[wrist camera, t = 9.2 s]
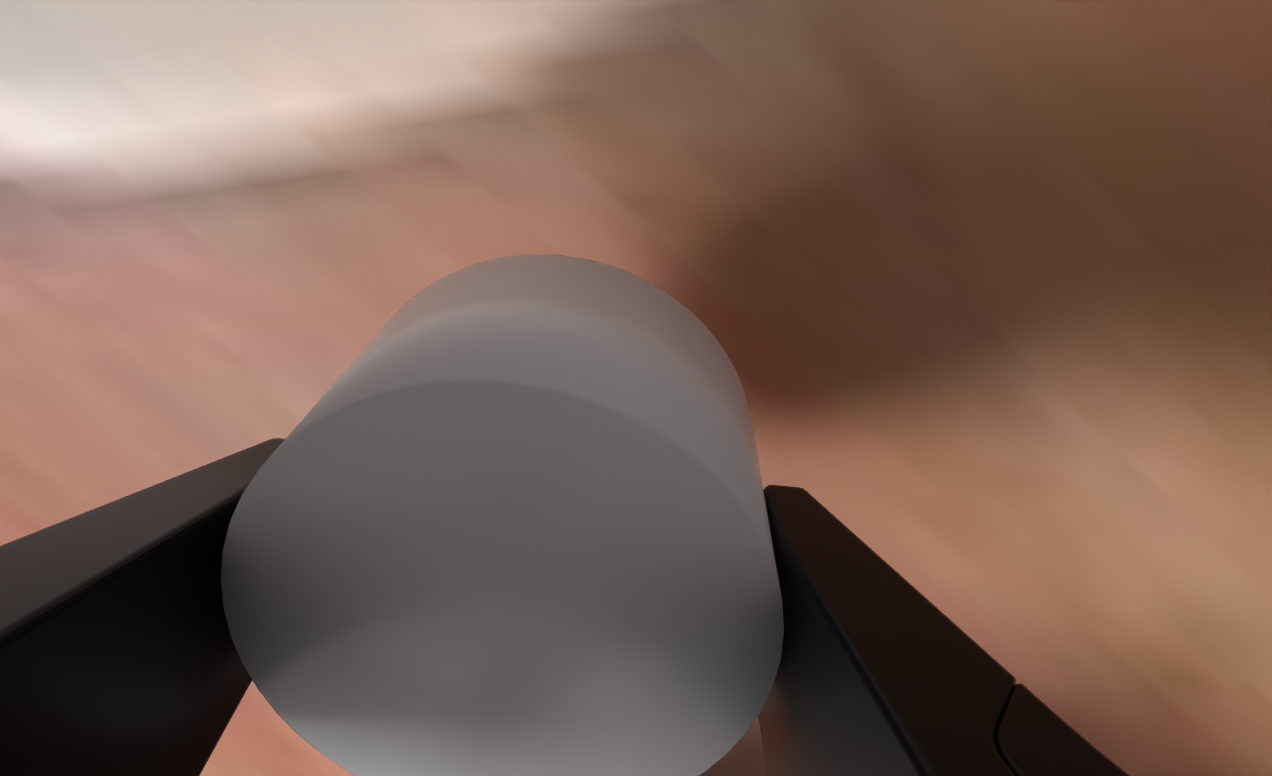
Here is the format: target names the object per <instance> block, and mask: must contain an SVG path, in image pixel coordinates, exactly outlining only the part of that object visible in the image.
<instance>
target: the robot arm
mask: <svg viewBox="0 0 1272 776" xmlns="http://www.w3.org/2000/svg"><path fill="white" fill-rule="evenodd" d="M284 440H285V439H281V438H275V439H270V440H268V441H265V442H263V443H260V444H258V445H255V446H253V447H250V448H247V449H245V450H242V451H240V452H237V453H235V454H232V455H230V456H227V457H225V458H222V459H220V460H217V461H215V462H212V463H210V464H207V465H204V466H202V467H199V468H197V469H194V470H192V471H189V472H187V473H184V474H182V475H179V476H177V477H174V478H172V479H169V480H166V481H164V482H161V483H159V484H156V485H154V486H151V487H149V488H146V489H144V490H141V491H139V492H136V493H134V494H131V495H128V496H126V497H123V498H121V499H118V500H116V501H113V502H111V503H108V504H106V505H103V506H101V507H98V508H96V509H93V510H90V511H88V512H85V513H83V514H80V515H78V516H75V517H73V518H70V519H68V520H65V521H63V522H60V523H58V524H55V525H52V526H50V527H47V528H45V529H42V530H40V531H37V532H35V533H32V534H30V535H27V536H25V537H22V538H20V539H17V540H15V541H12V542H9V543H7V544H4V545H2V546H0V776H199V775H200V774H201V772H202V770H203V768H204V766H205V765H206V763H207V761H208V759H209V757H210V756H211V754H212V752H213V750H214V748H215V746H216V745H217V743H218V741H219V739H220V737H221V736H222V734H223V732H224V730H225V728H226V727H227V725H228V723H229V721H230V719H231V718H232V716H233V714H234V712H235V710H236V708H237V707H238V705H239V703H240V701H241V699H242V698H243V696H244V694H245V692H246V690H247V689H248V687H249V685H250V683H251V681H252V678H251V677H250V675H249V673H248V672H247V670H246V668H245V667H244V665H243V663H242V661H241V659H240V656H239V654H238V652H237V649H236V647H235V645H234V642H233V640H232V638H231V635H230V631H229V627H228V623H227V620H226V616H225V612H224V608H223V598H222V588H221V568H222V553H223V547H224V543H225V539H226V535H227V531H228V527H229V523H230V520H231V518H232V516H233V514H234V511H235V509H236V507H237V505H238V503H239V500H240V498H241V496H242V494H243V492H244V491H245V489H246V488H247V486H248V485H249V484H250V482H251V481H252V479H253V478H254V476H255V475H256V473H257V472H258V470H259V469H260V468H261V466H262V465H263V464H264V463H265V462H266V461H267V460H268V458H269V457H270V456H271V455H272V454H273V453H274V452H275V450H276V449H277V448H278V447H279V446H280V445H281V444H282V442H283V441H284ZM763 491H764V497H765V503H766V509H767V514H768V520H769V526H770V532H771V538H772V544H773V550H774V555H775V561H776V567H777V573H778V579H779V585H780V591H781V597H782V604H783V622H784V635H783V644H782V653H781V660H780V664H779V667H778V670H777V674H776V677H775V681H774V684H773V687H772V689H771V691H770V693H769V695H768V697H767V700H766V702H765V704H764V706H763V708H762V710H761V712H760V713H759V715H758V717H759V723H760V729H761V736H762V742H763V748H764V754H765V760H766V767H767V773H768V776H1130V775H1129V774H1127V773H1126V772H1125V771H1124V770H1122V769H1121V768H1120V767H1118V766H1117V765H1116V764H1115V763H1113V762H1112V761H1111V760H1110V759H1108V758H1107V757H1106V756H1105V755H1103V754H1102V753H1101V752H1100V751H1099V750H1098V749H1096V748H1095V747H1094V746H1093V745H1092V744H1091V743H1089V742H1088V741H1087V740H1086V739H1085V738H1084V737H1082V736H1081V735H1080V734H1079V733H1078V732H1077V731H1075V730H1074V729H1073V728H1072V727H1071V726H1070V725H1068V724H1067V723H1066V722H1065V721H1064V720H1063V719H1061V718H1060V717H1059V716H1058V715H1057V714H1056V713H1054V712H1053V711H1052V710H1051V709H1050V708H1049V707H1048V706H1047V705H1045V704H1044V703H1043V702H1042V701H1041V700H1040V699H1039V698H1038V697H1036V696H1035V695H1034V694H1033V693H1032V692H1031V691H1030V690H1029V689H1028V688H1026V687H1025V686H1024V685H1023V684H1020V683H1019V684H1016V679H1015V677H1014V676H1013V675H1011V674H1010V673H1009V672H1008V671H1007V670H1006V669H1005V668H1004V667H1003V666H1001V665H1000V664H999V663H998V662H997V661H996V660H995V659H994V658H992V657H991V656H990V655H989V654H988V653H987V652H986V651H985V650H984V649H982V648H981V647H980V646H979V645H978V644H977V643H976V642H975V641H973V640H972V639H971V638H970V637H969V636H968V635H967V634H966V633H964V632H963V631H962V630H961V629H960V628H959V627H958V626H957V625H956V624H954V623H953V622H952V621H951V620H950V619H949V618H948V617H947V616H945V615H944V614H943V613H942V612H941V611H940V610H939V609H938V608H937V607H935V606H934V605H933V604H932V603H931V602H930V601H929V600H928V599H926V598H925V597H924V596H923V595H922V594H921V593H920V592H919V591H918V590H916V589H915V588H914V587H913V586H912V585H911V584H910V583H909V582H907V581H906V580H905V579H904V578H903V577H902V576H901V575H900V574H899V573H897V572H896V571H895V570H894V569H893V568H892V567H891V566H890V565H888V564H887V563H886V562H885V561H884V560H883V559H882V558H881V557H879V556H878V555H877V554H876V553H875V552H874V551H873V550H872V549H871V548H869V547H868V546H867V545H866V544H865V543H864V542H863V541H862V540H860V539H859V538H858V537H857V536H856V535H855V534H854V533H853V532H852V531H850V530H849V529H848V528H847V527H846V526H845V525H844V524H843V523H841V522H840V521H839V520H838V519H837V518H836V517H835V516H834V515H833V514H831V513H830V512H829V511H828V510H827V509H826V508H825V507H824V506H822V505H821V504H820V503H819V502H818V501H817V500H816V499H815V498H813V497H812V496H811V495H810V494H809V493H808V492H807V491H805V490H804V489H802V488H799V487H789V486H778V485H768V486H767V487H765V489H764V490H763ZM1015 684H1016V685H1015Z"/></svg>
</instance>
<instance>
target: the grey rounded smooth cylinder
mask: <svg viewBox="0 0 1272 776" xmlns="http://www.w3.org/2000/svg"><path fill="white" fill-rule="evenodd" d="M221 588H222V598H223V608H224V612H225V616H226V620H227V623H228V627H229V631H230V635H231V638H232V640H233V642H234V645H235V647H236V649H237V652H238V654H239V656H240V659H241V661H242V663H243V665H244V667H245V668H246V670H247V672H248V673H249V675H250V677H251V678H252V680H253V682H254V683H255V685H256V687H257V688H258V690H259V691H260V692H261V694H262V695H263V696H264V698H265V699H266V700H267V701H268V703H269V704H270V705H271V707H272V708H273V709H274V710H275V712H276V713H277V714H278V715H279V716H280V717H281V718H282V719H283V720H284V721H285V722H286V723H287V724H288V725H289V726H290V727H291V728H292V729H293V730H294V731H295V732H296V733H297V734H298V735H299V736H300V737H301V738H303V739H304V740H305V741H306V742H308V743H309V744H310V745H311V746H312V747H314V748H315V749H316V750H317V751H319V752H320V753H321V754H322V755H324V756H325V757H327V758H328V759H330V760H331V761H333V762H334V763H336V764H337V765H339V766H340V767H342V768H343V769H345V770H346V771H348V772H349V773H351V774H353V775H355V776H699V775H701V774H702V773H704V772H705V771H706V770H708V769H709V768H710V767H711V766H712V765H714V764H715V763H716V762H717V761H719V760H720V759H721V758H722V757H724V756H725V755H726V754H727V753H728V752H729V751H730V750H731V749H732V748H733V746H734V745H735V744H736V743H737V742H738V741H739V740H740V739H741V738H742V737H743V736H744V735H745V733H746V732H747V731H748V729H749V728H750V726H751V725H752V723H753V722H754V720H755V719H756V718H757V716H758V715H759V713H760V712H761V710H762V708H763V706H764V704H765V702H766V700H767V697H768V695H769V693H770V691H771V689H772V687H773V684H774V681H775V677H776V674H777V670H778V667H779V664H780V660H781V653H782V644H783V635H784V622H783V604H782V597H781V591H780V585H779V579H778V573H777V567H776V561H775V555H774V550H773V544H772V538H771V532H770V526H769V520H768V514H767V509H766V503H765V497H764V491H763V485H762V479H761V473H760V468H759V462H758V456H757V450H756V444H755V438H754V432H753V426H752V421H751V416H750V411H749V407H748V402H747V398H746V394H745V392H744V389H743V386H742V384H741V381H740V379H739V376H738V373H737V371H736V370H735V368H734V366H733V364H732V362H731V361H730V359H729V357H728V355H727V353H726V352H725V350H724V349H723V347H722V346H721V345H720V343H719V342H718V341H717V339H716V338H715V337H714V335H713V334H712V333H711V332H710V330H709V329H708V328H707V327H706V326H705V325H704V324H703V323H702V322H701V321H700V320H699V319H698V318H697V317H696V316H695V315H694V314H693V313H692V312H691V311H690V310H689V309H688V308H686V307H685V306H684V305H682V304H681V303H680V302H679V301H677V300H676V299H675V298H673V297H672V296H671V295H669V294H668V293H667V292H665V291H663V290H661V289H660V288H658V287H656V286H655V285H653V284H651V283H649V282H648V281H646V280H644V279H642V278H640V277H638V276H635V275H633V274H631V273H628V272H626V271H624V270H621V269H619V268H616V267H613V266H609V265H606V264H602V263H599V262H595V261H592V260H588V259H581V258H575V257H568V256H562V255H521V256H512V257H502V258H498V259H494V260H490V261H486V262H482V263H478V264H474V265H472V266H469V267H466V268H464V269H461V270H459V271H456V272H454V273H451V274H449V275H447V276H445V277H444V278H442V279H440V280H438V281H437V282H435V283H433V284H431V285H429V286H428V287H426V288H425V289H424V290H422V291H421V292H420V293H418V294H417V295H416V296H415V297H413V298H412V299H411V300H409V301H408V302H407V303H406V304H405V305H404V306H403V307H402V308H401V309H400V310H399V311H398V312H397V313H396V314H395V315H394V316H393V317H392V318H391V319H390V320H389V322H388V323H387V324H386V325H385V326H384V327H383V328H382V330H381V331H380V332H379V333H378V334H377V335H376V336H375V338H374V339H373V340H372V341H371V342H370V343H369V344H368V346H367V347H366V348H365V349H364V350H363V351H362V352H361V354H360V355H359V356H358V357H357V358H356V359H355V360H354V362H353V363H352V364H351V365H350V366H349V367H348V368H347V369H346V371H345V372H344V373H343V374H342V375H341V376H340V377H339V379H338V380H337V381H336V382H335V383H334V384H333V385H332V387H331V388H330V389H329V390H328V391H327V392H326V393H325V395H324V396H323V397H322V398H321V399H320V400H319V401H318V403H317V404H316V405H315V406H314V407H313V408H312V409H311V411H310V412H309V413H308V414H307V415H306V416H305V417H304V419H303V420H302V421H301V422H300V423H299V424H298V425H297V427H296V428H295V429H294V430H293V431H292V432H291V433H290V434H289V436H288V437H287V438H286V439H285V440H284V441H283V442H282V444H281V445H280V446H279V447H278V448H277V449H276V450H275V452H274V453H273V454H272V455H271V456H270V457H269V458H268V460H267V461H266V462H265V463H264V464H263V465H262V466H261V468H260V469H259V470H258V472H257V473H256V475H255V476H254V478H253V479H252V481H251V482H250V484H249V485H248V486H247V488H246V489H245V491H244V492H243V494H242V496H241V498H240V500H239V503H238V505H237V507H236V509H235V511H234V514H233V516H232V518H231V520H230V523H229V527H228V531H227V535H226V539H225V543H224V547H223V553H222V568H221Z"/></svg>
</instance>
